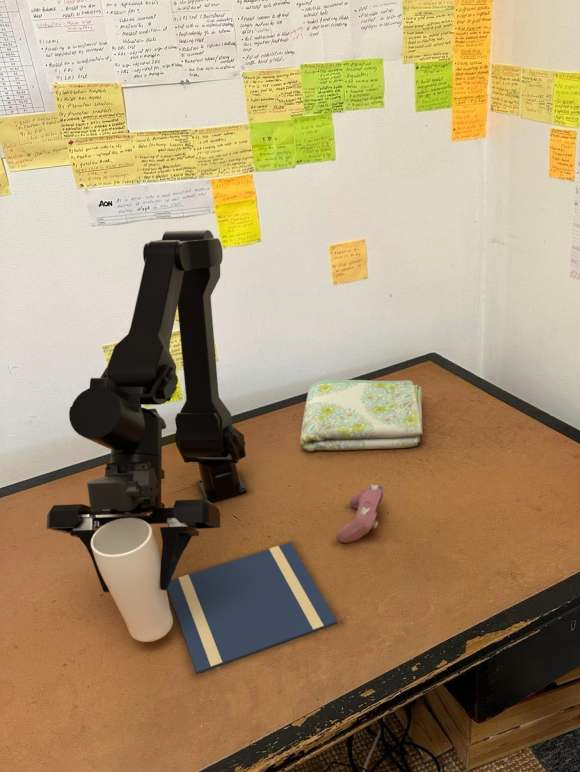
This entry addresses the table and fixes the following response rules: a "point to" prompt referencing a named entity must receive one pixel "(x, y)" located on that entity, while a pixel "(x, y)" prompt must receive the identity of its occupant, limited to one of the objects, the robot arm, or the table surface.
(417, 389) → the towel
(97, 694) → the table surface
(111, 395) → the robot arm
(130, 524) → the white tapered cup
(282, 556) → the cloth
